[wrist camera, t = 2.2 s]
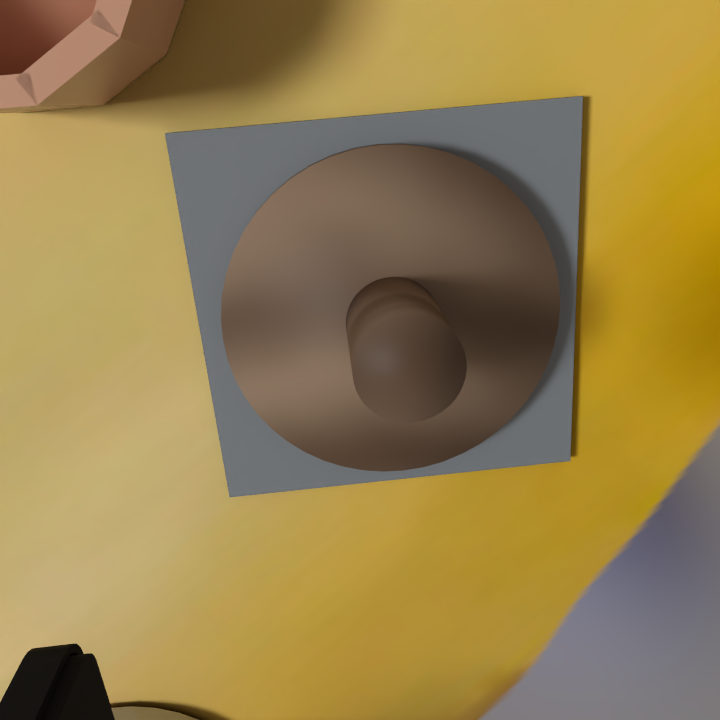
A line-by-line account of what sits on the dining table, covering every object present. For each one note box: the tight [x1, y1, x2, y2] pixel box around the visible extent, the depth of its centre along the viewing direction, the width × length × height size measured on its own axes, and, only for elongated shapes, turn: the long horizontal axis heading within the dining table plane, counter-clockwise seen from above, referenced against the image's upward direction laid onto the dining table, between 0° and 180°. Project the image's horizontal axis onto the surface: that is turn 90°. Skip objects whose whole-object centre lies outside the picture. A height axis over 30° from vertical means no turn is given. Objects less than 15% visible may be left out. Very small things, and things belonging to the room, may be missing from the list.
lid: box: [221, 143, 560, 472], centre depth 24 cm, size 13×13×6 cm
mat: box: [165, 96, 583, 497], centre depth 27 cm, size 15×15×1 cm
